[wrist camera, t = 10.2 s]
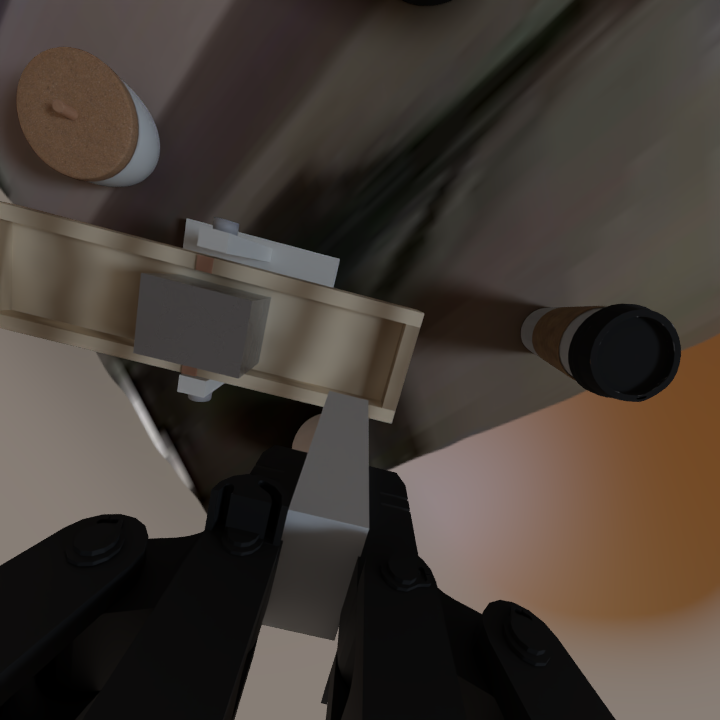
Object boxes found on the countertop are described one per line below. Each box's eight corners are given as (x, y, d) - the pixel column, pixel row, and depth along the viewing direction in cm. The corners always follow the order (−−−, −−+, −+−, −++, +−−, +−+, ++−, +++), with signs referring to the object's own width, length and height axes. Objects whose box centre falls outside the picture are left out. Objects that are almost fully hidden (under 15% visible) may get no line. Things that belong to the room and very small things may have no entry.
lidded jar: (137, 72, 36) (61, 2, 27) (197, 165, 38) (144, 129, 29) (65, 129, 38) (-32, 81, 29) (125, 216, 40) (54, 197, 31)
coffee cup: (515, 370, 43) (591, 415, 29) (505, 306, 41) (581, 319, 27) (581, 354, 43) (693, 393, 28) (574, 289, 41) (690, 293, 26)
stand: (176, 349, 43) (89, 380, 30) (193, 218, 40) (103, 185, 26) (310, 383, 44) (286, 428, 30) (340, 258, 40) (327, 245, 27)
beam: (20, 317, 31) (-29, 322, 28) (22, 206, 29) (-31, 194, 25) (388, 407, 33) (391, 424, 29) (417, 309, 31) (424, 313, 27)
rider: (170, 341, 30) (133, 352, 25) (179, 274, 28) (141, 272, 24) (258, 362, 30) (238, 378, 25) (271, 297, 29) (252, 301, 24)
